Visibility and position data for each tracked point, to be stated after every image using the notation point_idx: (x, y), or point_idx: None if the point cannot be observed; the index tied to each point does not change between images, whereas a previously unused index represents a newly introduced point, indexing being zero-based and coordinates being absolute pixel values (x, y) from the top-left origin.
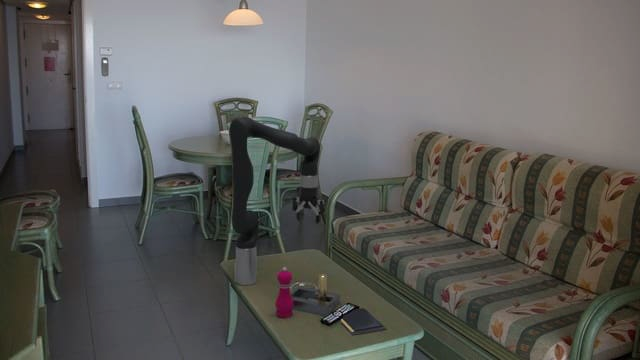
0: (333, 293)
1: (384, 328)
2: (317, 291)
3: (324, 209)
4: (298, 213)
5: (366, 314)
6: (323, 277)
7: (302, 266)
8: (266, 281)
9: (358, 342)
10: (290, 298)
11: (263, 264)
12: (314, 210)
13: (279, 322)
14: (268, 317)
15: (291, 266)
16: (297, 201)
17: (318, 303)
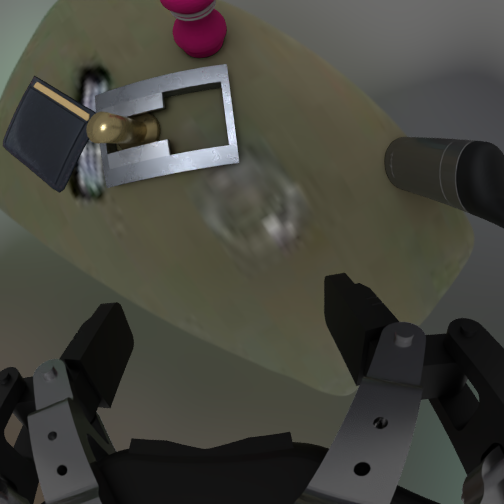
0: (123, 179)
1: (3, 141)
2: (168, 161)
3: (16, 441)
4: (371, 321)
5: (36, 159)
6: (92, 117)
7: None
8: (367, 190)
9: (22, 67)
10: (175, 24)
11: (415, 278)
12: (49, 403)
13: None
14: (228, 11)
15: None
16: (486, 470)
17: (123, 96)
